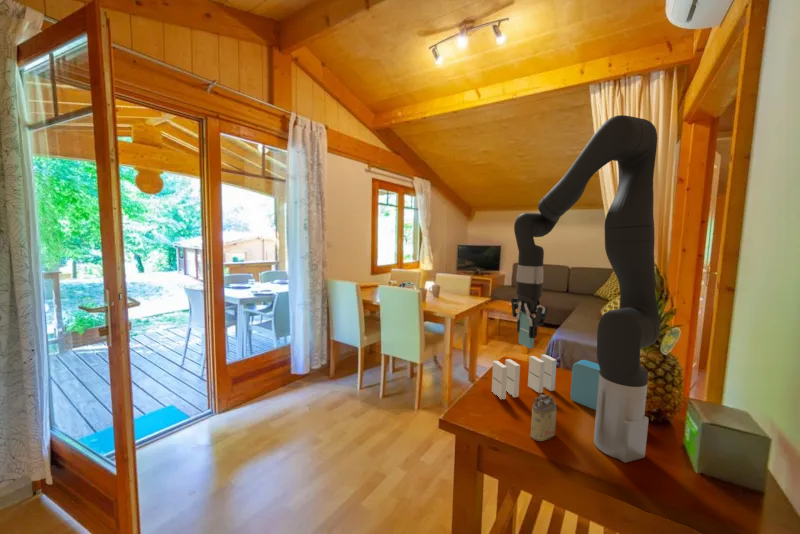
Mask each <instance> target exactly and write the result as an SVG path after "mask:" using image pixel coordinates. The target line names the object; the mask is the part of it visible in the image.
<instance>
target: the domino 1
mask: <svg viewBox="0 0 800 534" xmlns="http://www.w3.org/2000/svg"><path fill="white" fill-rule="evenodd" d="M491 375H492V377H491V378H492V379H491V393H492V392H493V393H492V394H494V395H495V396H496V395H497V396H498V397H499V398H498V397H497V396H496V397H497V398H498V399H500V400H502V399H503V400H506V399H507V397H506V396H507V392H506V384H507V366H505V364H503V363H502V362H501V361H499V360H493V361H492V374H491Z"/></svg>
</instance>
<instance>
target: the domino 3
mask: <svg viewBox="0 0 800 534" xmlns="http://www.w3.org/2000/svg"><path fill="white" fill-rule="evenodd" d="M531 315H533V314H531ZM534 321H535V318H533V322H534ZM529 326H530V323H529V319H528V318H527V314H526V313H523V312H521V317H520V328H519V332H518V344H520V345H521V346H524V347H525V348H527V349H534V345H535V338H529Z"/></svg>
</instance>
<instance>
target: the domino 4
mask: <svg viewBox="0 0 800 534" xmlns="http://www.w3.org/2000/svg"><path fill="white" fill-rule="evenodd" d="M528 361H529V362H528V379H527V387H529V388H530V389H531V390H534V392H536V393H537V392H538V393H537V394H542V393H544V387H543V382H544V366H545V362H544V361H542V360H541V358H539V357H537V356H534V355H530V356H529V360H528Z"/></svg>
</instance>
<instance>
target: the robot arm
mask: <svg viewBox="0 0 800 534" xmlns="http://www.w3.org/2000/svg"><path fill="white" fill-rule="evenodd" d="M657 148H658V132H657V128H656V126H655V125H654V124H653V122H651V121H650V120H648V119H645V118H640V117H635V116H630V115H626V114H625V115H624V114H623V115H622V114H620V115H615V116H612V117H610V118H609V119H607V120H605V121H604V123H602V124H601V125H600V127H599V128H598V129H597V130H596V132H595V133H594V134H593V136H592V137H591V138H590V140H588V142H587V143H586V145H585V146H584V148H583V150H581V152H580V153H579V155H578V156H577V158H576V159H575V160H574V162H573V163H572V165H571V166H570V167H569V168H568V170H567V171H566V173H565V174H564V175H563V176H562V177H561V179H560V180H559V181H558V182H557V183H556V184H555V185H554V186H553V187H552V188H551V189H550V190H549V191H548V192H547V193H546V194H545V195H544V196H543V197H542V198H541V199H540V201H539V202H538V204H537V209H538V211H539V212H538V213H535V212H523V213H521V214H519V215H518V216H517V218H516V219H515V221H514V224H513V225H514V227H513V229H514V230H513V231H514V236H515V240H516V245H517V250H518V256H517V257H518V258H517V259H518V260H517V261H518V262H517V269H516V277H515V278H516V279H515V280H516V282H515V294H516V296H517V297H512V298H510V299H511V300H510V301H511V312H512V313H511V314H512V317H513V318H515V319H516V332H518V333H519V328H520V317H521V312H523V313H526V314H527V318H528V319H529V323H530V326H529V338H534V339H536V338H537V336H538V327H539V326H544V323H545V320H546V316H547V312H548V307H547V306H543V305H541V301H540V298H541V297H542V296H543V287H544V257H545V256H544V255H545V252H544V251H545V249H544V248H543V247H542V246H540V245H537V244H536V243H535V239H534V238H542V237H544V236H547V235H548V234H549V233H551V232H552V231H553V229H554V227H555V226H556V225H557V223H558V222H559V220H560V218H561V217H562V216H563V215H564V214H566V212H568V211H569V210H570V209H571V208H572V207H573V206H575V205H576V204H577V202H578V201H579V200H580V199H581V197H582V195H583V194H584V192H585V190H586V187H587V185H588V183H589V181H590V180H591V179H592V177H593V176H594V175H595V174H596V173H597V172H598V171H599V170H600V169H602V168H603V167H604V166H606V165H607V164H608V163H609V164H610V162H612V161H615V162H617V167H618V168H617V169H618V186H617V190H616V193H615V196H614V197H613V200H612V203H611V204H610V207H609V208H608V211H607V214H606V215H605V216H606V217H605V220H604V249H605V253H606V256H607V257H606V258H607V259H608V261H609V262H608V263H610V265H611V268H612V269H613V272H614V274H615V276H616V278H617V281H618V287H619V308H618V309H612V310H608V311H607V312H605V313H604V314H602V316H601V317H600V318H599V321H598V325H597V332H596V360H597V364H599V367H600V371H599V382H598V394H597V406H596V410H595V420H594V421H595V422H594V433H593V443H594V445H595V447H596V448H597V449H598V450H600V452H602V453H603V454H606V456H610V457H612V458H614V459H618V460H619V461H621V462H622V463H625V464H626V463H629V462H632V461H637V460H640V459H644V458H645V457H646V450H647V449H646V447H647V441H648V439H647V438H648V431H649V428H648V427H649V417H648V416H646V415H645V412H646V411H645V410H646V402H647V394H648V393H647V391H648V382H649V372H648V369H647V368H646V367H645V366H643V365H642V364H640V363H641V362H640V361H641V349H643V348H648V347H650V346H652V345H653V344H655V342H657V340H658V339H659V337H660V332H661V323H660V314H659V308H658V307H659V306H658V301H657V295H656V286H655V285H656V283H655V281H656V280H655V270H656V268H655V242H656V241H655V238H656V237H655V218H654V215H655V214H654V198H655V197H654V193H655V192H654V179H655V177H654V175H655V166H656V159H657V157H656V155H657V150H658V149H657ZM531 314H532V315H531ZM533 318H535V321H534V322H533Z"/></svg>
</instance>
